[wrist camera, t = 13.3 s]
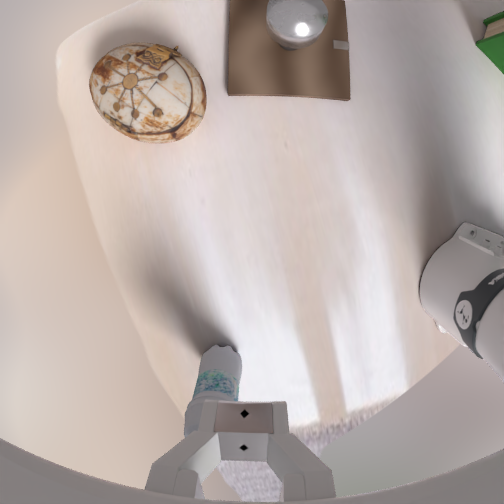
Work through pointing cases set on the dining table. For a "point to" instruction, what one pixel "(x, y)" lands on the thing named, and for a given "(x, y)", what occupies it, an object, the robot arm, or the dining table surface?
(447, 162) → the dining table surface
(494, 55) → the hardback book
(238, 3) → the base
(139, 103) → the trinket box
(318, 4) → the lever handle
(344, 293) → the dining table surface
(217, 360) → the bottle
